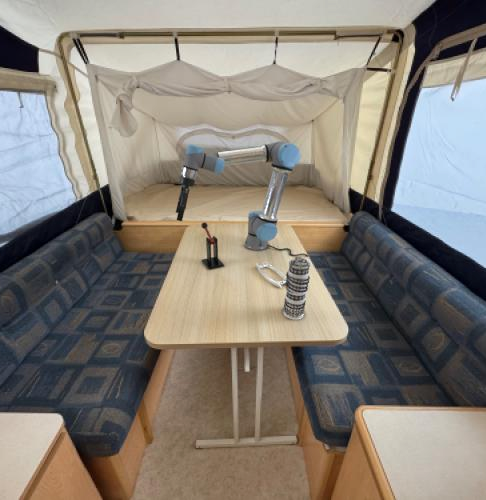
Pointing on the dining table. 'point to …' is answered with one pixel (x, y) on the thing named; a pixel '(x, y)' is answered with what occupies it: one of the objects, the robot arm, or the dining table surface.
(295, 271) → the decorative candle
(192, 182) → the robot arm
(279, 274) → the door handle
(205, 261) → the bracket
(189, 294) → the dining table surface
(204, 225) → the lever
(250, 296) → the dining table surface
